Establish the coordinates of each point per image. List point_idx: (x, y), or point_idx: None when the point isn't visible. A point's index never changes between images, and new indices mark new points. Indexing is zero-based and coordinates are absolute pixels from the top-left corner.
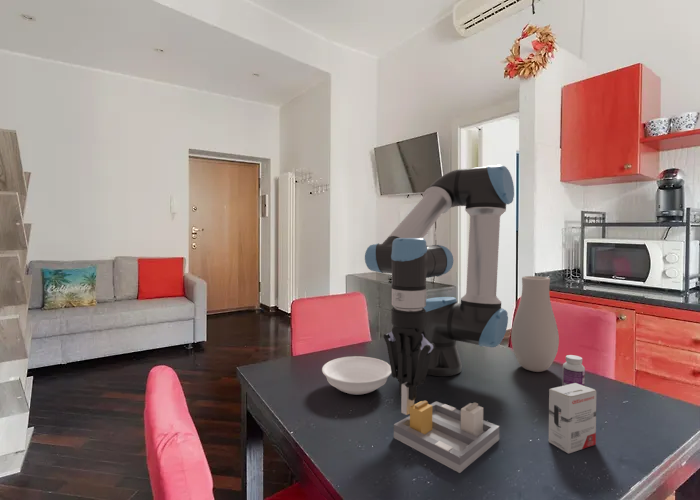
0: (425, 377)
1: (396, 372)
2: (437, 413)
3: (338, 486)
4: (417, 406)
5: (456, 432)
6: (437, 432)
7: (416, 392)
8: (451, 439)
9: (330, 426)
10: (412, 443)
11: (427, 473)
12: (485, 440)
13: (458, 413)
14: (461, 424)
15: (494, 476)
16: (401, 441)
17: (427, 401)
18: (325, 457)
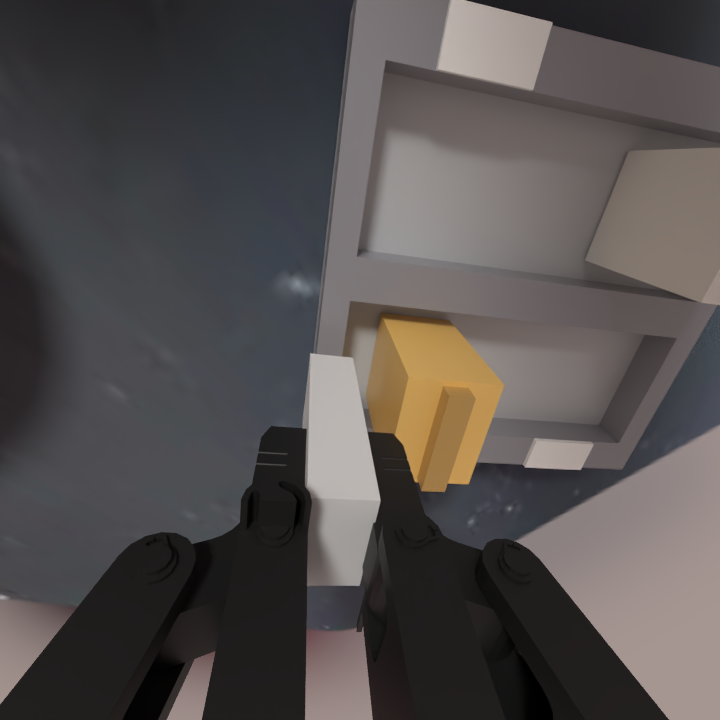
0: (583, 623)
1: (177, 678)
2: (404, 107)
3: (328, 628)
4: (441, 489)
5: (590, 327)
6: (477, 320)
7: (410, 473)
8: (550, 332)
9: (50, 506)
10: None
11: (496, 486)
12: None
13: (577, 96)
14: (623, 272)
15: (690, 380)
16: None
17: (474, 398)
18: None
